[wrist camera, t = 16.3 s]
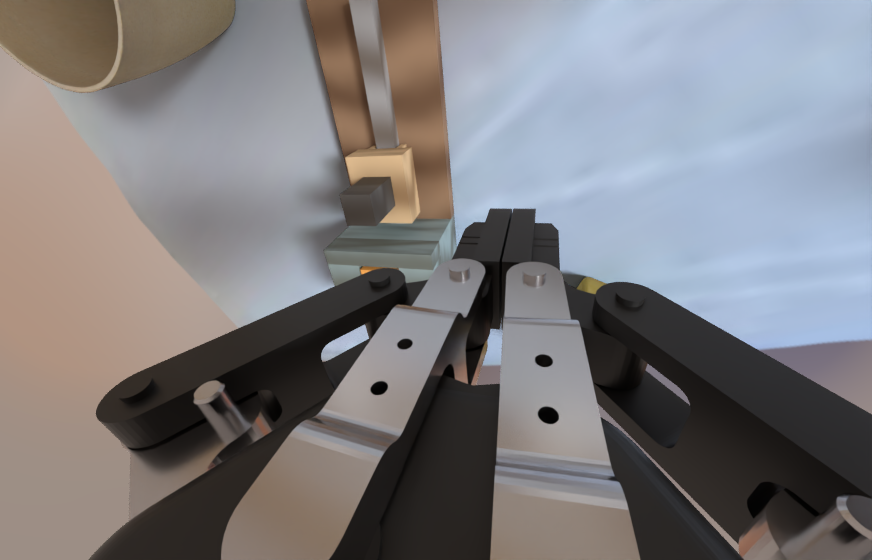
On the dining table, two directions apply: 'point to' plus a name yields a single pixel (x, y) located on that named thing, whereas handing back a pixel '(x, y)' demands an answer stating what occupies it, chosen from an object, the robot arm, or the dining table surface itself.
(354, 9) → the rail rig
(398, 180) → the carriage
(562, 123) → the dining table surface
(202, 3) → the plant pot
